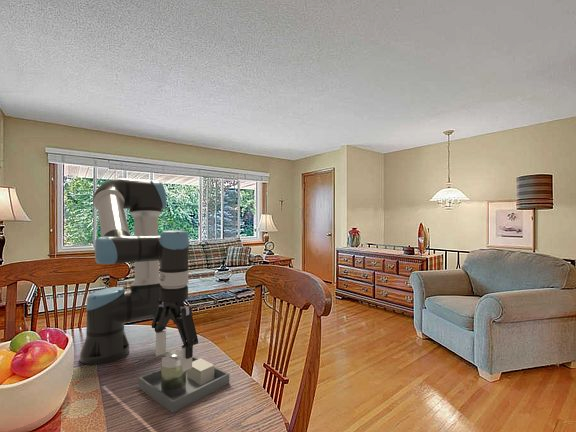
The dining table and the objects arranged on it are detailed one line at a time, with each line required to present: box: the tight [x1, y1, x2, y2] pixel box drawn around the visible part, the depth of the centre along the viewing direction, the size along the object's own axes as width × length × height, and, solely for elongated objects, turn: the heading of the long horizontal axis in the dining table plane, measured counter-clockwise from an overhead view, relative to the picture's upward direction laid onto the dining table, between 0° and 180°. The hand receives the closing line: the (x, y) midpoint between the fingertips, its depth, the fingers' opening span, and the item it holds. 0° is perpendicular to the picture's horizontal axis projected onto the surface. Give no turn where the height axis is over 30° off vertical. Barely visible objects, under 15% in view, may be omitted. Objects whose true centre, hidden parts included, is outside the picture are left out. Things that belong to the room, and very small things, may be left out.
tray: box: [137, 355, 230, 414], centre depth 88 cm, size 18×18×4 cm
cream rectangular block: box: [187, 358, 215, 385], centre depth 93 cm, size 7×5×4 cm
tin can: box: [160, 349, 186, 397], centre depth 86 cm, size 6×6×10 cm
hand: (173, 361), depth 86 cm, fingers open, 13 cm apart
